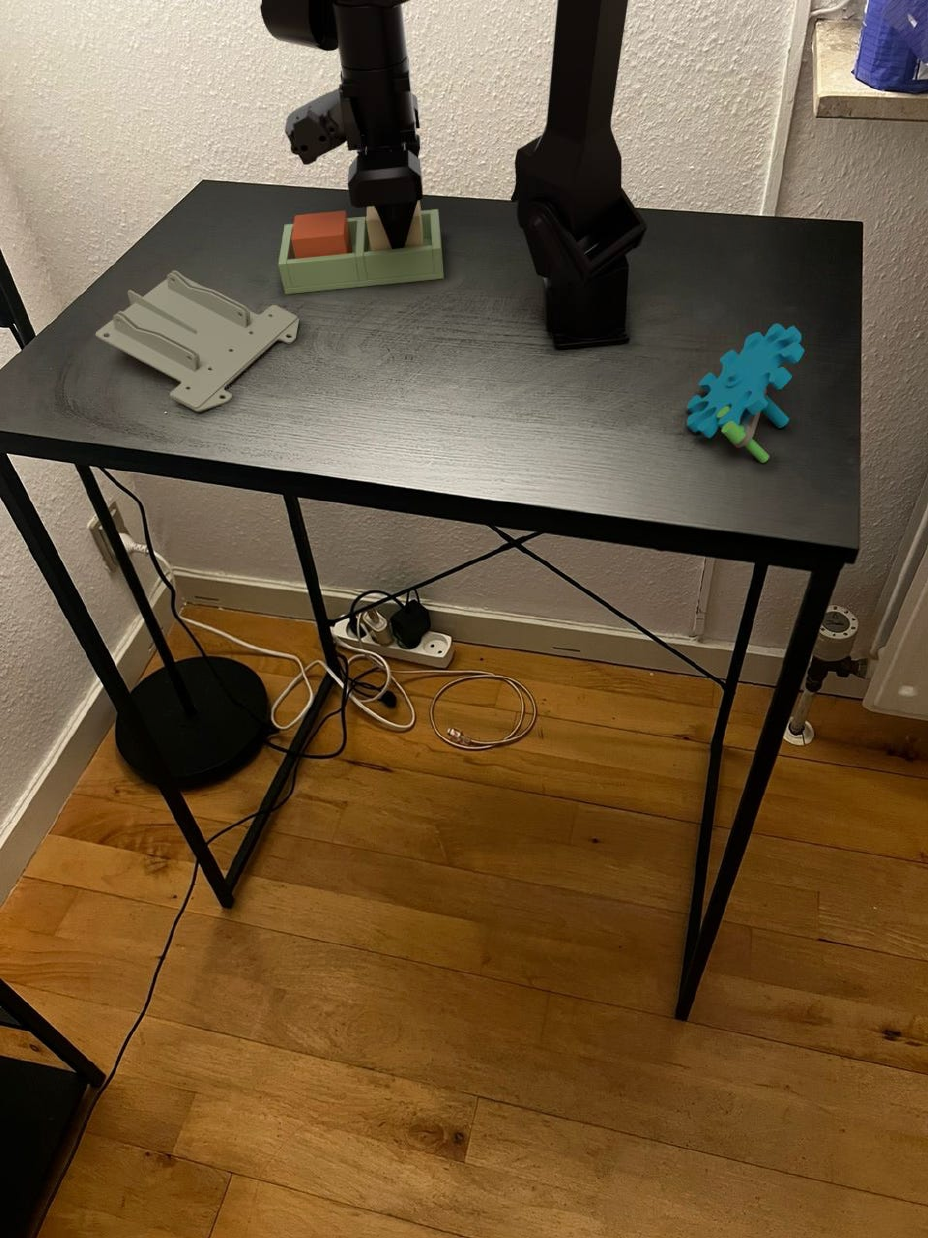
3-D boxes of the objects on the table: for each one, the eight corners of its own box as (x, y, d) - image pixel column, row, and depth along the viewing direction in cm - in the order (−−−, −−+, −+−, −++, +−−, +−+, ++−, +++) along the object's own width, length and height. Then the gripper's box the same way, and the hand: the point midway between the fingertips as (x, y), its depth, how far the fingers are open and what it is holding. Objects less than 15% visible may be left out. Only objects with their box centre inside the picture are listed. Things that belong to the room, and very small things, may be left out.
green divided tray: (441, 238, 96) (437, 208, 93) (443, 278, 90) (440, 247, 88) (291, 253, 96) (284, 224, 94) (285, 294, 91) (278, 264, 88)
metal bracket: (66, 324, 78) (179, 241, 87) (77, 377, 83) (184, 293, 92) (208, 401, 77) (310, 308, 85) (212, 450, 81) (308, 358, 90)
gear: (698, 356, 75) (804, 294, 67) (745, 404, 78) (852, 349, 70) (662, 455, 70) (773, 399, 62) (713, 503, 72) (826, 455, 64)
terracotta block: (352, 248, 94) (345, 209, 92) (350, 273, 91) (343, 234, 88) (303, 253, 95) (294, 214, 92) (299, 278, 91) (291, 239, 88)
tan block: (423, 231, 94) (418, 191, 91) (424, 256, 90) (419, 215, 87) (373, 237, 94) (367, 197, 91) (372, 261, 90) (366, 220, 87)
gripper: (288, 32, 86) (320, 201, 98) (270, 110, 74) (310, 294, 85) (409, 19, 86) (427, 190, 97) (411, 95, 73) (432, 281, 85)
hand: (398, 236), depth 91 cm, fingers closed on tan block, 5 cm apart
